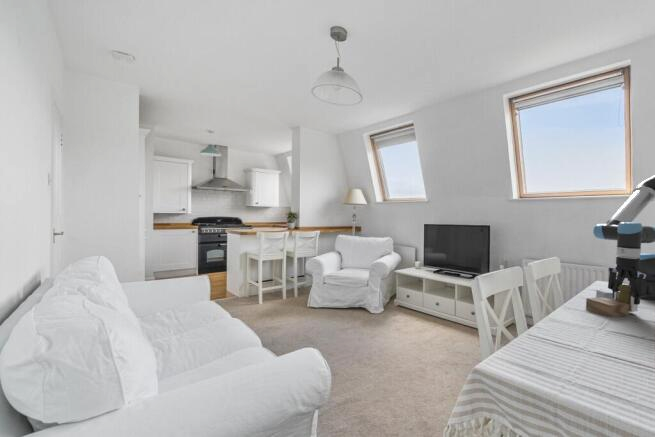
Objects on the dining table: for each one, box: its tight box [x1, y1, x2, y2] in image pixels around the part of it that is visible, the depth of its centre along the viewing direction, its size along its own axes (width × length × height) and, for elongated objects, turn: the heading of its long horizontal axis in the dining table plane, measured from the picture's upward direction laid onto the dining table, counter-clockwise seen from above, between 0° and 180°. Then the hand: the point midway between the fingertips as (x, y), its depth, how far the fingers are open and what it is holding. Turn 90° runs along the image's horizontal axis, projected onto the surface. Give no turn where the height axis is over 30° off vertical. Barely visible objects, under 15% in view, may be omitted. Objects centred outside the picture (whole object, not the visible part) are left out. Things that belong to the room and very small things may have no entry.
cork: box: [618, 284, 633, 313], centre depth 134 cm, size 6×6×11 cm
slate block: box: [595, 289, 614, 300], centre depth 147 cm, size 5×5×6 cm
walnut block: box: [585, 297, 630, 318], centre depth 134 cm, size 10×10×5 cm
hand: (625, 308), depth 134 cm, fingers closed on cork, 6 cm apart
